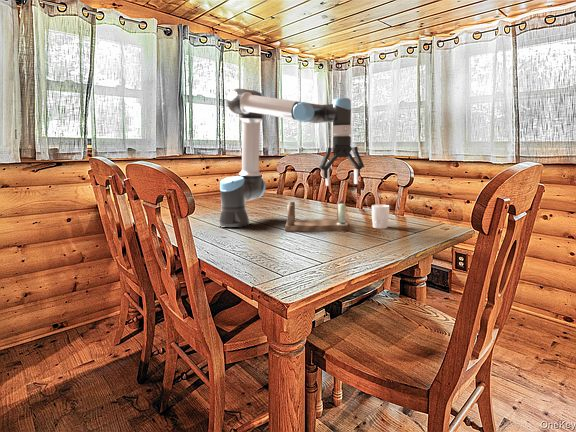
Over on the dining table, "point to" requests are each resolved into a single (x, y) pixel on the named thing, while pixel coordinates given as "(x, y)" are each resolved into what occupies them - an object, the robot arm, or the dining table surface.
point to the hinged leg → (341, 213)
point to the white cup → (380, 216)
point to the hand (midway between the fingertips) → (341, 184)
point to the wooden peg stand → (312, 222)
